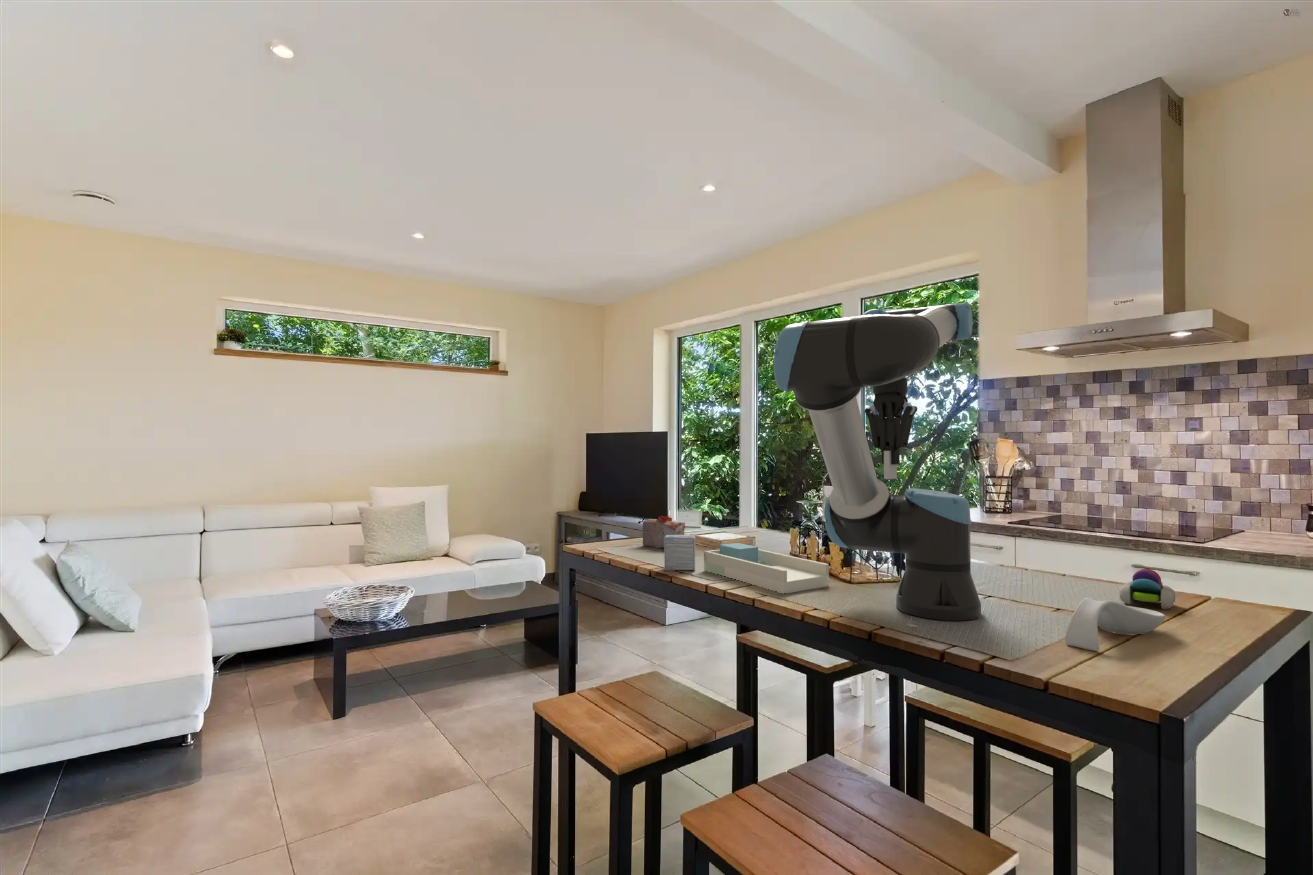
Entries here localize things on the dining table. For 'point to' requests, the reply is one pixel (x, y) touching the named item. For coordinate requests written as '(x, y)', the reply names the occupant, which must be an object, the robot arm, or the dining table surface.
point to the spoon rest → (1108, 622)
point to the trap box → (770, 571)
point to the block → (740, 551)
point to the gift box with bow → (660, 530)
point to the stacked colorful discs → (1147, 589)
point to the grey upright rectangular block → (679, 552)
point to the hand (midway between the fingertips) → (890, 478)
